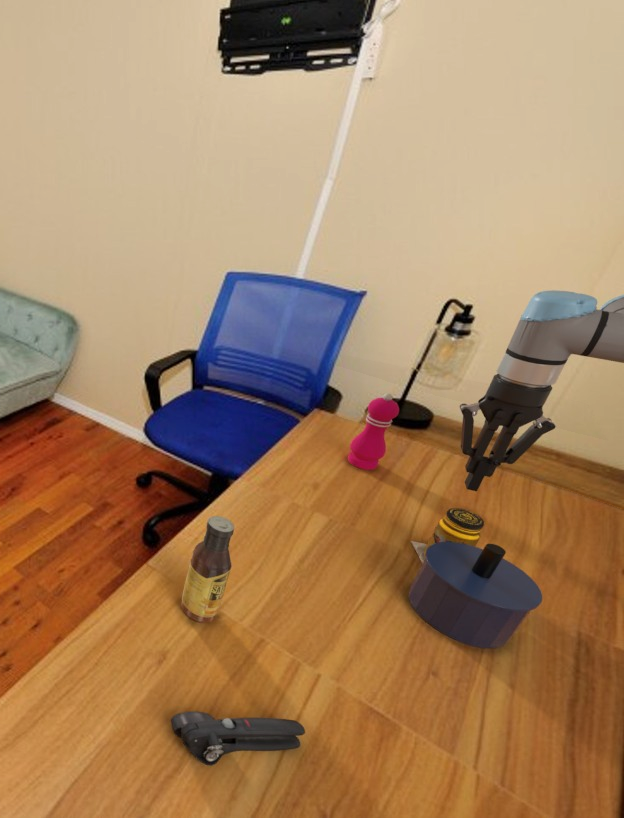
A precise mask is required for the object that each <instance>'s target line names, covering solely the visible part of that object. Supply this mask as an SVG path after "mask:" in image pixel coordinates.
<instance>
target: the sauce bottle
mask: <svg viewBox="0 0 624 818" xmlns="http://www.w3.org/2000/svg"><path fill="white" fill-rule="evenodd" d="M234 531H235V525H234V523H233V522H232V521H231V520H230V519H228V518H227V517H224V516H221V515H214V516H210V517H208V519H207V522H206V532H205V535H204V537H203V540H201V541H200V542H199V543H197V545H195V546H194V549H193V551H192V555H191V559H190V561H189V566H188V570H187V572H186V576H185V582H184V586H183V589H182V590H183V591H182V594H181V603H180V604H181V609H182V611H183V613H184V614H185V616H187V617H188V618H189V619H191V620H192V621H195V622H197V623H203V624H204V623H205V624H206V623H209V622H212V621H214V620H215V619H216V617H217V615H218V613H219V611H220V608H221V606H222V605H221V603H222V601H223V598H224V594H225V590H226V587H227V584H228V580H229V577H230V575H231V574H230V573H231V571H232V559H231V555H230V549H229V548H230V541H231V538H232V537H233V535H234Z"/></svg>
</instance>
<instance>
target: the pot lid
mask: <svg viewBox="0 0 624 818" xmlns="http://www.w3.org/2000/svg"><path fill="white" fill-rule="evenodd" d="M506 554H507V552H506V550H505V548H503V547H502V546H500V545H498V544H495V543H486V544H485V546H484V548H480V547H477V546H475V547H474V546H471V545H467V544H462V543H456V542H439V543H435V544H432V545H430V546H429V547H428V548H427V550H426V552H425V559H426V562H427V564H428V566H429V567H430V569H431V570H432V571H433V572H434V574H435V575H436V576H437V577H439V578H440V579H441V580H442V581H443V582H444V583H446V584H447V585H449V586H450V587H451V588H453V589H455V590H456V591H458V592H459V593H461V594H463V595H465V596H467V597H469V598H471V599H473V600H475V601H478V602H480V603H483V604H486V605H488V606H491V607H495V608H498V609H503V610H508V611H518V612H522V611H530V610H531V611H533V610H536V609H537V608H538V607H539V606H540V605H541V603H542V602H543V593H542V590H541V589H540V587H539V585H538V584H537V583H536V581H535V580H533V578H532V577H531V576H529V575H528V574H527V573H526V572H525V571H524V570H522V569H521V568H520V567H518V566H517V565H516V564H514V563H512V562H511V561H508V560H507V559H505V558H504V557H505V555H506ZM531 611H530V612H531Z"/></svg>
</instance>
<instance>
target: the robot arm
mask: <svg viewBox="0 0 624 818" xmlns="http://www.w3.org/2000/svg"><path fill="white" fill-rule="evenodd" d="M597 305H598V299H597V298H596V297H594V296H592V295H590V294H586V293H578V292H574V291H569V290H555V289H554V290H553V289H552V290H543V291H539V292H537V293H535V294H534V295H533V296H532V297H531V298H530V300H529V301H528V304H527V306H526V307H525V309H524V311H523V312H522V314H521V316H520V318H519V320H518V323H517V325H516V327H515V329H514V332H513V334H512V336H511V338H510V341H509V343H508V345H507V348H506V350H505V352H504V354H503V356H502V358H501V360H500V362H499V364H498V367H497V369H496V373H497V374H494V375H493V377H492V379H491V382H490V383H489V386H488V387H487V389H486V392H485V394H484V396H482V397H481V398H480V399H479V400H478V401H477V402H474V403H470V404H467V403H460V404H459V409H460V412H461V414H462V425H461V435H460V436H461V437H460V449H461V452H462V454H463V455H465V456H469V457H468V459H467V461H466V463H465V465H464V467H465V471H466V473H468V474H467V476H466V478H465V480H464V485H465V488H466V490H469V491H473V492H478V490H479V488H480V486H481V484H482V482H483V480H484V478H485V477H488V478H491V477H492V476H493V475H494V473H495V472H496V469H497V467H500V466H501V465H502V464H507V465H513V464H515V463H516V462H517V461H518V460H519V459H520V458H521V457H522V456H523V455H524V454H525V453H526V452H527V451H528V450H529V449H530V448H531V447H532V446H533V445H534V444H535V443H536V442H537V441H538V440H539V439H540V438H541V437H542V436H543V435H544V434H546V433H549V432H550V431H553V430H556V427H557V426H556V425H555V423H554V421H553V420H552V419H551V418H549V417H546V416H545V415H544V410H543V407H544V405H545V403H546V402H547V400H548V398H549V396H550V394H551V393H552V390H553V386H552V385H555V384H556V383H557V381H558V380H559V377H560V376H561V373H562V371H563V370H564V367H565V365H566V363H567V361H568V360H569V358H570V357H571V355H576V356H581V357H588V358H591V359H592V358H593V359H598V360H604V361H609V362H615V363H621V364H624V294H621V295H618V296H615V297H613V298H611V299H609V300H608V301H606V302H605V303H603V304H602V305H601V306H600V308H599V309H598V306H597ZM479 411H480V412H481V413H482V415H483V417H484V419H485V420H484V423H483V425H482V427H481V430H480V432H479V434H478V435H477V436H478V437H477V438H476V439H475V443H474V445H473V435H474V424H475V420H474V417H475V416H477V415H478V412H479ZM529 423H532V424H531V426H529V427H528V428H527V429H526V430H525V431H524V432H522V434H521V435H520V436H519V437H518V438H517V439H516V440H515V441H514V442H513V443H512V444H511V442H512V440H513V438H514V436H515V435H517V433H518V431H519V430H520V428H521V427H523V426H525V425H528V424H529ZM500 427H502V428H501V429H500V431H499V434H498V436H497V437H496V439H495V441H494V444H493V446H492V448H491V450H490V452H489V454H488V456H485V454H486V451H487V450H488V447H489V445H490V443H491V441H492V439H493V437H494V435H495V434H496V432H497V431H498V429H499V428H500ZM510 444H511V445H510Z"/></svg>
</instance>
